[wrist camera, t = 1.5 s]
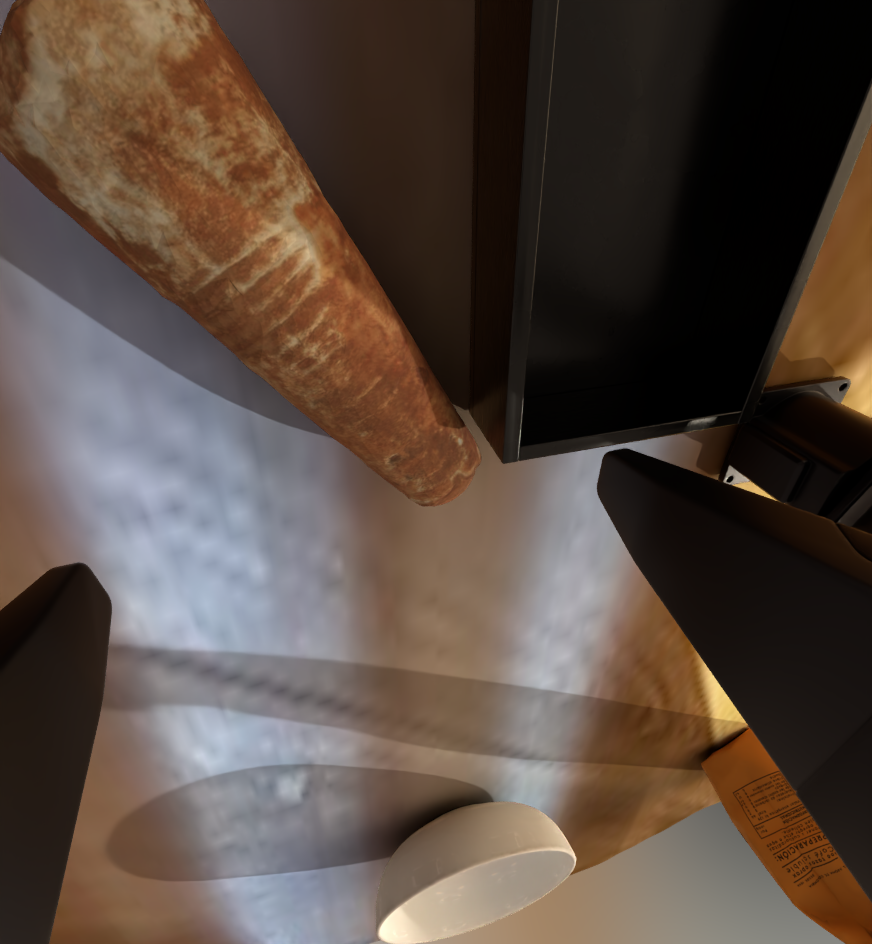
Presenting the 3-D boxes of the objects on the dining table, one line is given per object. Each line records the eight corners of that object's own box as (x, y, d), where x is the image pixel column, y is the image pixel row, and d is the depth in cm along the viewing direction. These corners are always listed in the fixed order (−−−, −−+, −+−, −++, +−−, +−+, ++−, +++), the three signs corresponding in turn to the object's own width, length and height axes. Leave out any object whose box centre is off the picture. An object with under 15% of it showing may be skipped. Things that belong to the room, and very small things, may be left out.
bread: (175, -45, 13) (113, -147, 8) (485, 436, 24) (530, 503, 20) (4, 104, 13) (-137, 86, 9) (383, 502, 25) (404, 581, 20)
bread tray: (947, -507, 12) (1253, -809, 8) (683, 381, 25) (750, 422, 21) (483, -636, 9) (607, -1133, 6) (468, 412, 23) (502, 464, 19)
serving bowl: (570, 803, 58) (600, 872, 52) (424, 876, 60) (438, 950, 54) (508, 752, 45) (538, 836, 40) (326, 846, 47) (331, 938, 42)
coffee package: (709, 778, 66) (860, 1007, 49) (687, 757, 59) (855, 1017, 41) (775, 743, 64) (955, 968, 47) (760, 717, 57) (967, 971, 40)
